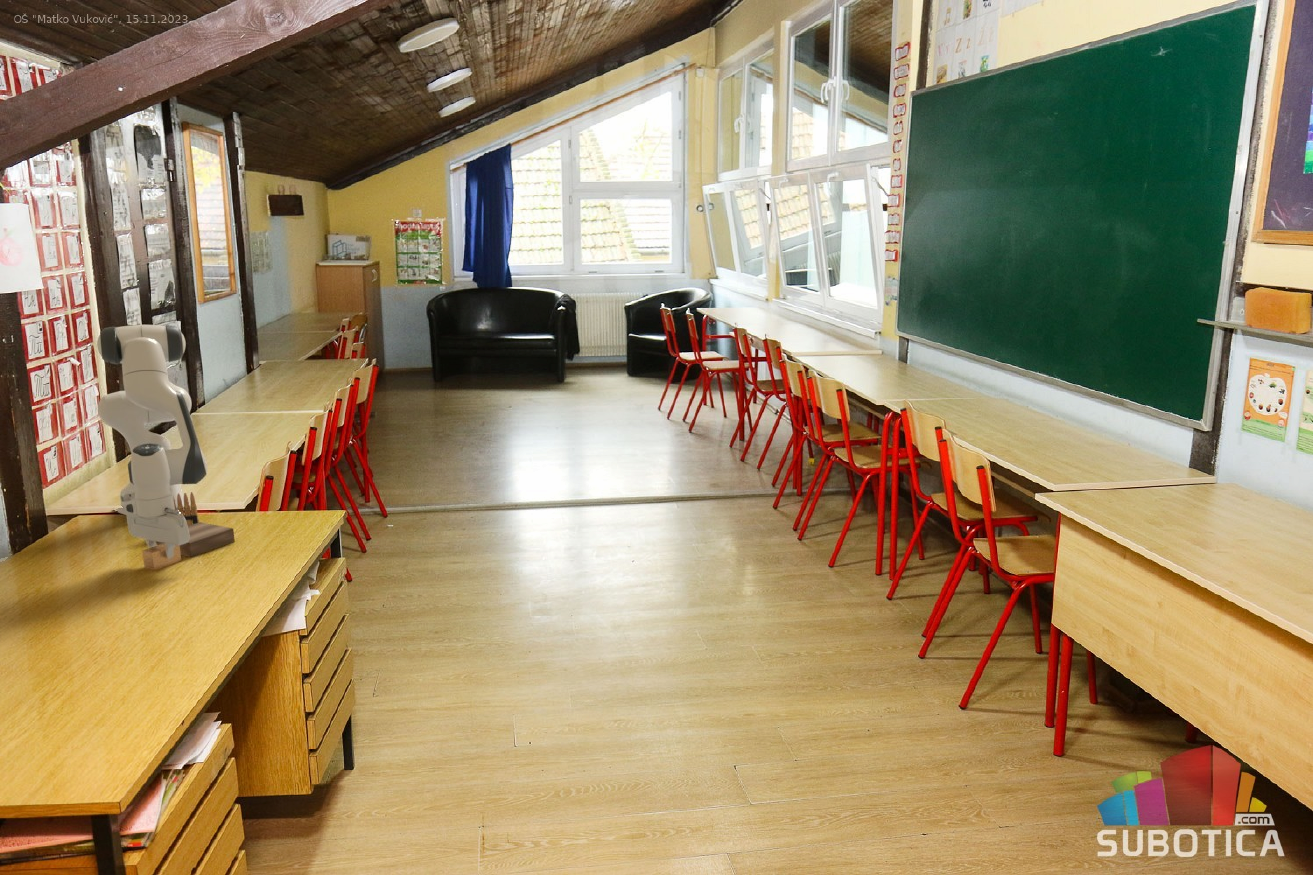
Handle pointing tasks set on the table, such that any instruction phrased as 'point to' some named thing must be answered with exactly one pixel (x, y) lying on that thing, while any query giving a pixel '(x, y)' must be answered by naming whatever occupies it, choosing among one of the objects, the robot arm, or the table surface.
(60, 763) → the table surface
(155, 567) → the light brown wooden block
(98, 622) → the table surface
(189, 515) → the ammunition clip
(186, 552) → the walnut stand
